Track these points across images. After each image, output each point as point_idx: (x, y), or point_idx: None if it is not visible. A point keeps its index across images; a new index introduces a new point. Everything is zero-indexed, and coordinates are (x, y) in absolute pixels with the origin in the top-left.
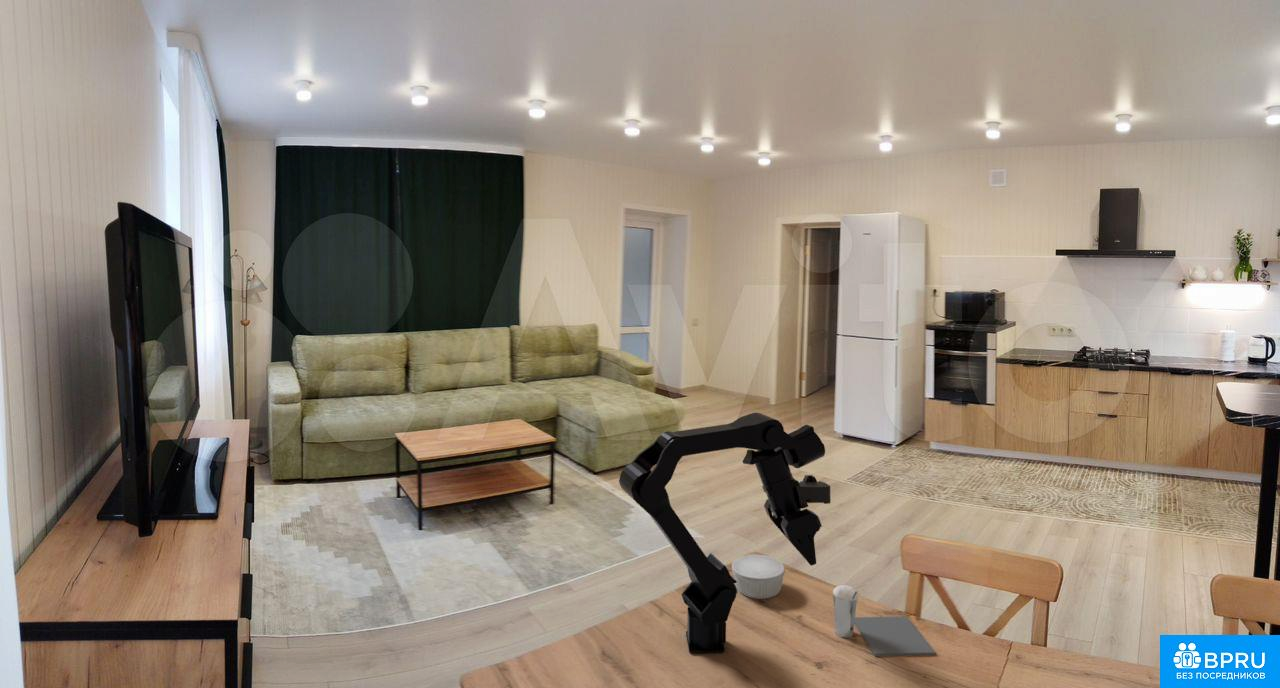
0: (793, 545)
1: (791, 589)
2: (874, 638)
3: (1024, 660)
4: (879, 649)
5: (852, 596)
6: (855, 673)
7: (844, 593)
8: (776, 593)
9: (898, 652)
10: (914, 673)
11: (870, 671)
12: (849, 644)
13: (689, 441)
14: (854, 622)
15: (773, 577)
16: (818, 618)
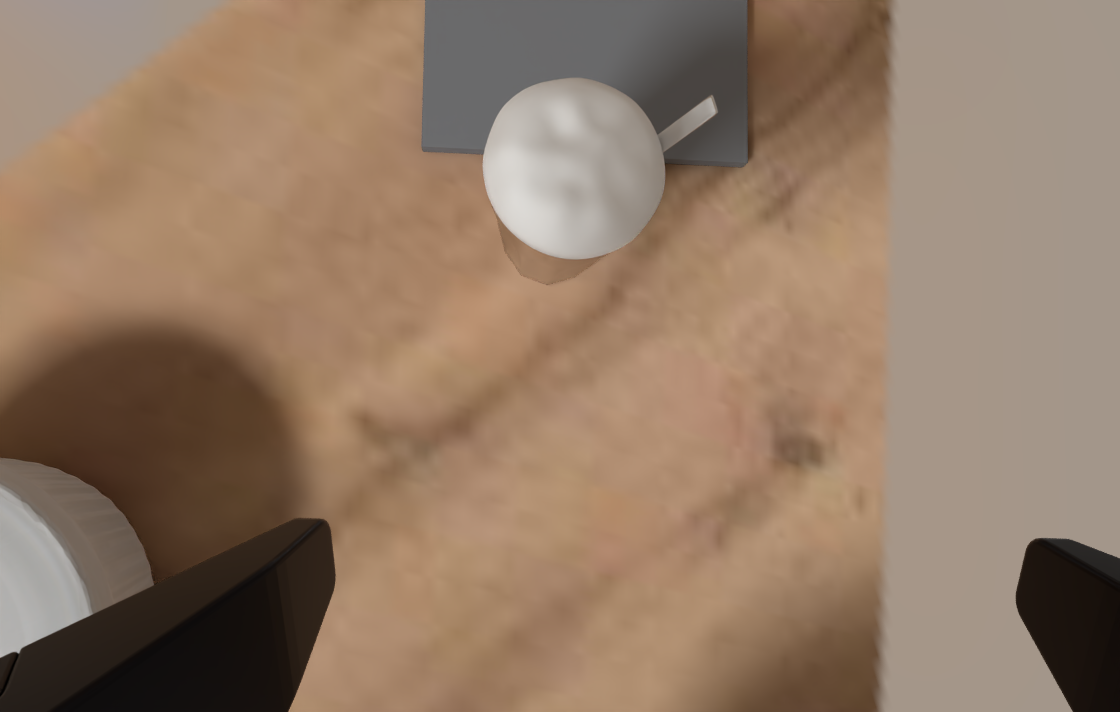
0: (302, 675)
1: (44, 389)
2: None
3: None
4: (716, 127)
5: (655, 139)
6: (860, 305)
7: (634, 187)
8: (120, 512)
9: (742, 49)
10: (865, 50)
11: (848, 233)
12: (643, 249)
13: None
14: (464, 150)
15: (86, 581)
16: (396, 326)
